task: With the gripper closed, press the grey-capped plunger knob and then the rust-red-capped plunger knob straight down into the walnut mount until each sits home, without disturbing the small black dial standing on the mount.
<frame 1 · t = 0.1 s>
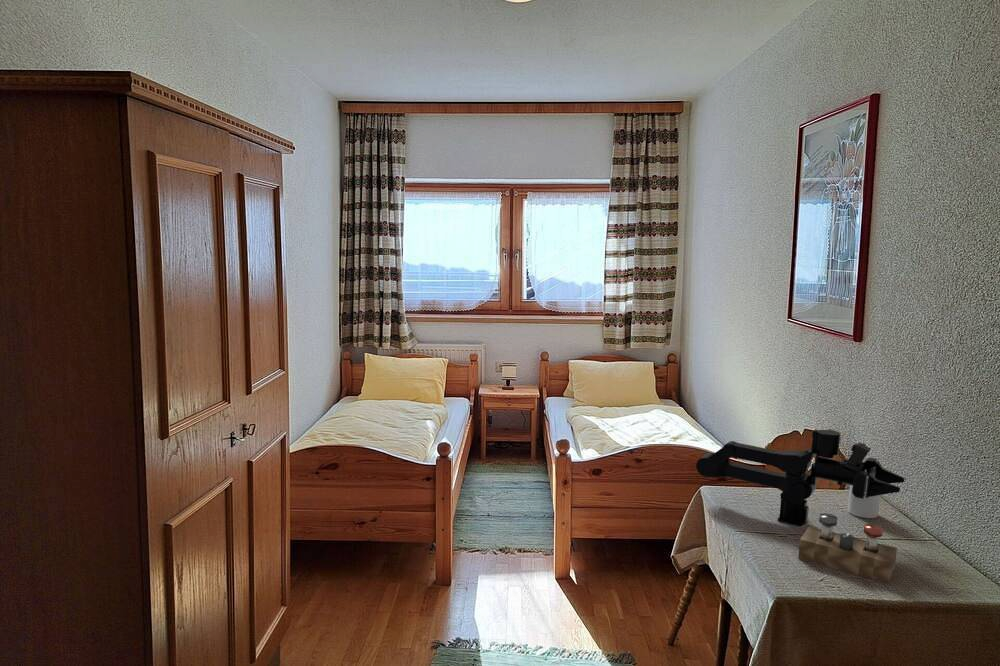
hand: (902, 484, 188), 17 cm above the table, fingers open, 9 cm apart
knob left: (827, 530, 181), point 7 cm above the table, slide at 0.0 cm
dial: (846, 547, 176), point 5 cm above the table, touching mount
mount: (846, 563, 179), on the table
knob right: (871, 541, 175), point 7 cm above the table, slide at 0.0 cm
pill bottle: (862, 514, 211), on the table
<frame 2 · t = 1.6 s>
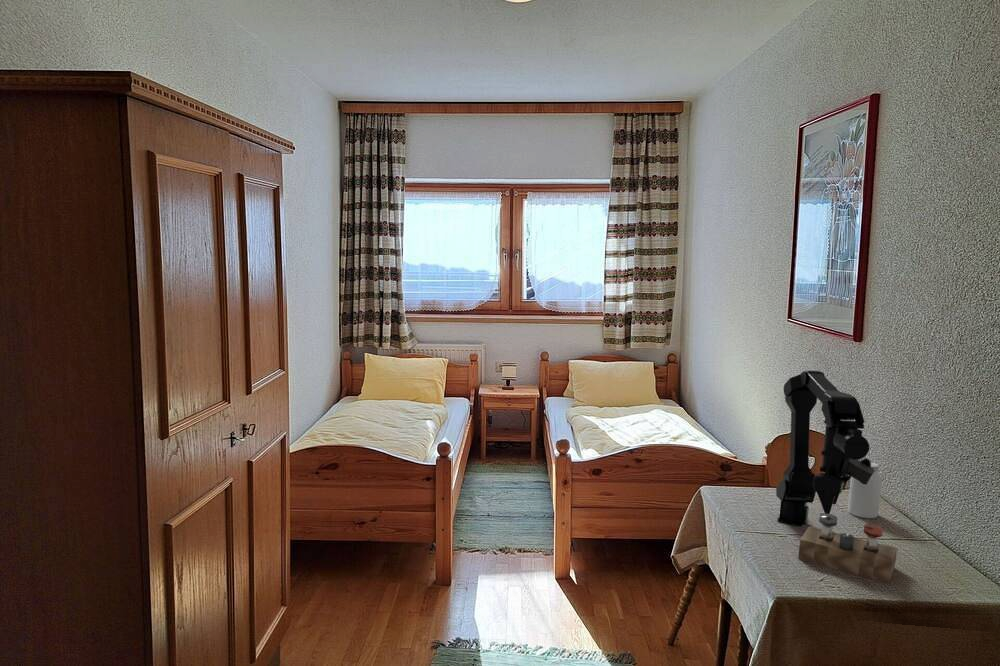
hand: (830, 508, 180), 13 cm above the table, fingers open, 8 cm apart
nothing on the table moved.
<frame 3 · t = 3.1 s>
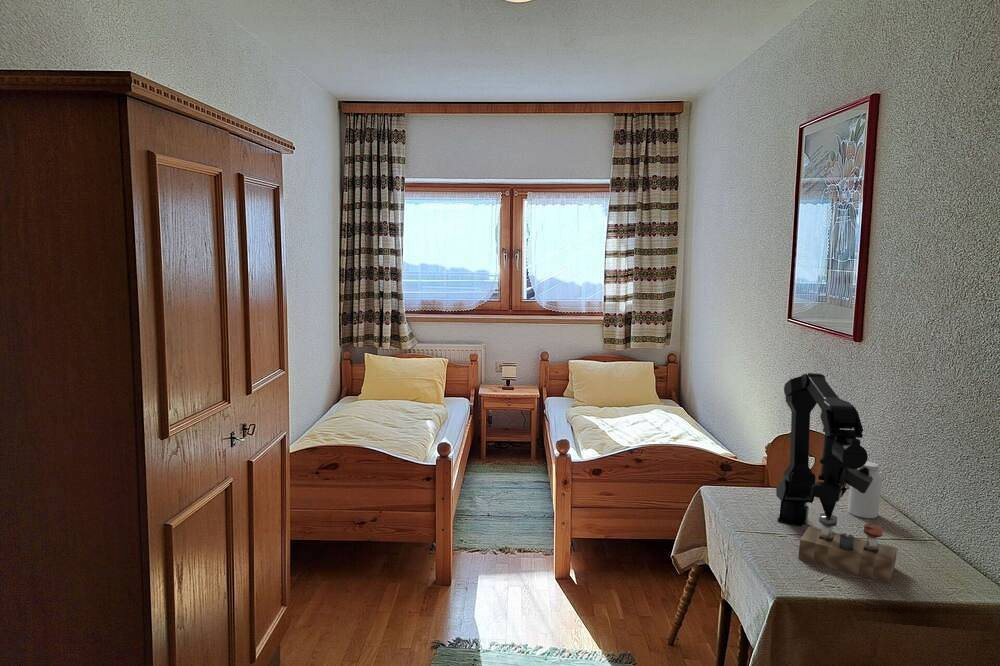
hand: (828, 516, 180), 11 cm above the table, fingers closed, pressing on knob left
knob left: (827, 530, 181), point 7 cm above the table, slide at 0.0 cm, touching gripper
everything else where it was.
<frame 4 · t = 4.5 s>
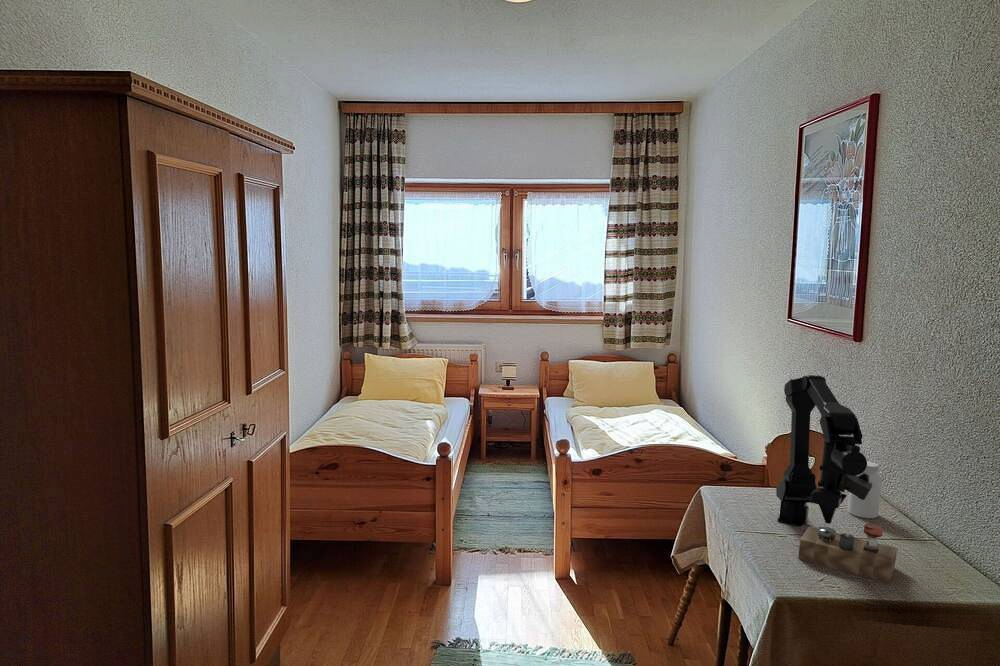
hand: (828, 523, 181), 9 cm above the table, fingers closed
knob left: (825, 543, 182), point 4 cm above the table, slide at 3.5 cm
everything else where it was.
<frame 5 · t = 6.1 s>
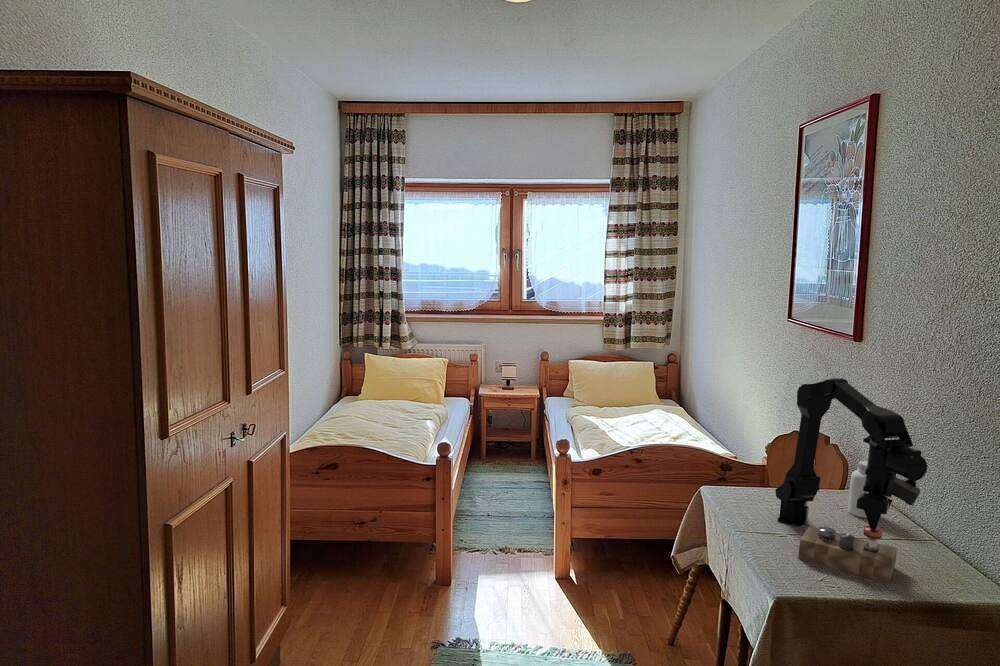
hand: (873, 528, 175), 10 cm above the table, fingers closed, pressing on knob right
knob right: (871, 543, 175), point 7 cm above the table, slide at 0.5 cm, touching gripper
everything else where it was.
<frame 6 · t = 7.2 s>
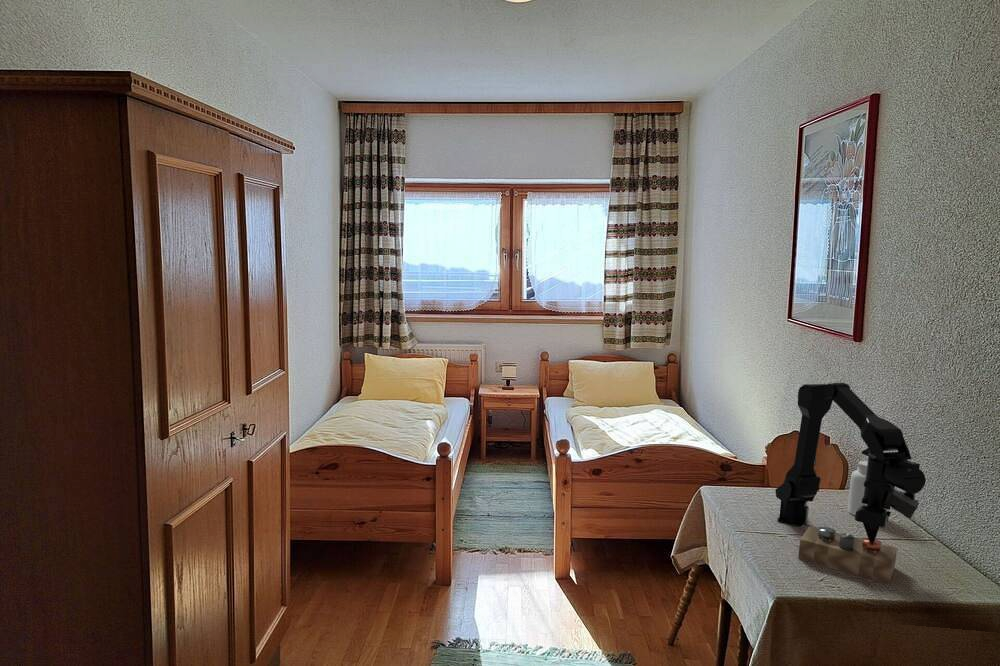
hand: (871, 541, 175), 7 cm above the table, fingers closed
knob right: (870, 555, 176), point 4 cm above the table, slide at 3.5 cm
everything else where it was.
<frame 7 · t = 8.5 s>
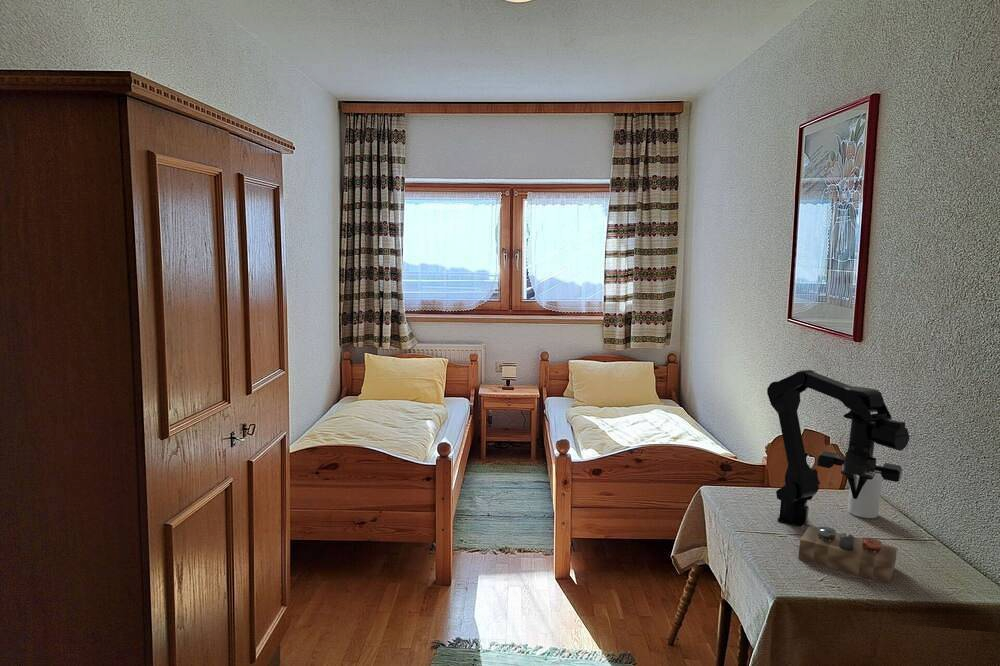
hand: (855, 498, 187), 13 cm above the table, fingers closed
nothing on the table moved.
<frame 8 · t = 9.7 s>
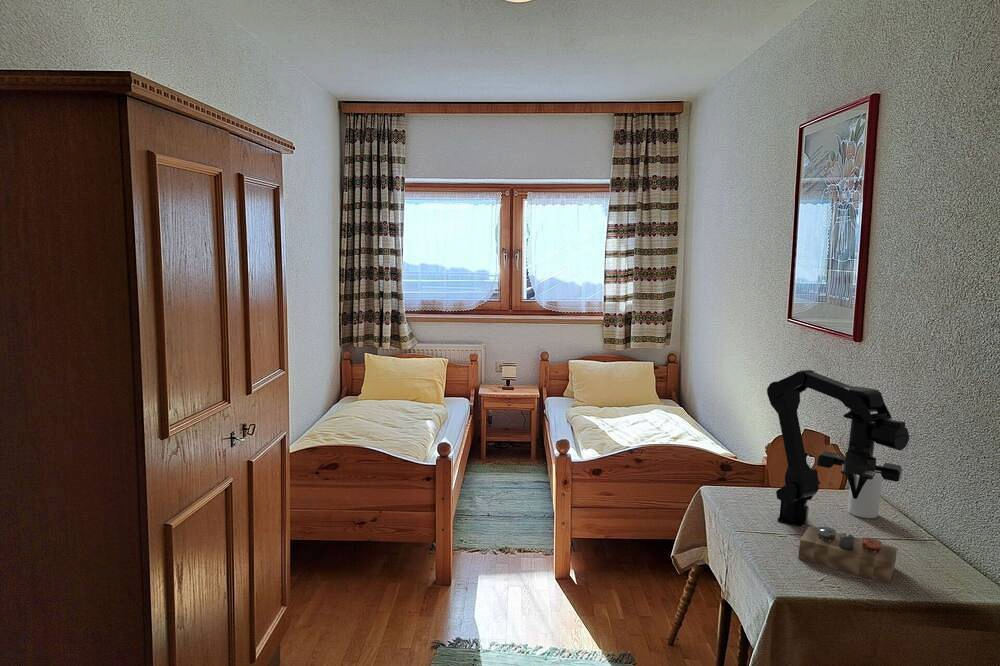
hand: (855, 498, 187), 13 cm above the table, fingers closed
nothing on the table moved.
at the end: knob left slide at 3.5 cm; knob right slide at 3.5 cm; dial tilted 0° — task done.
